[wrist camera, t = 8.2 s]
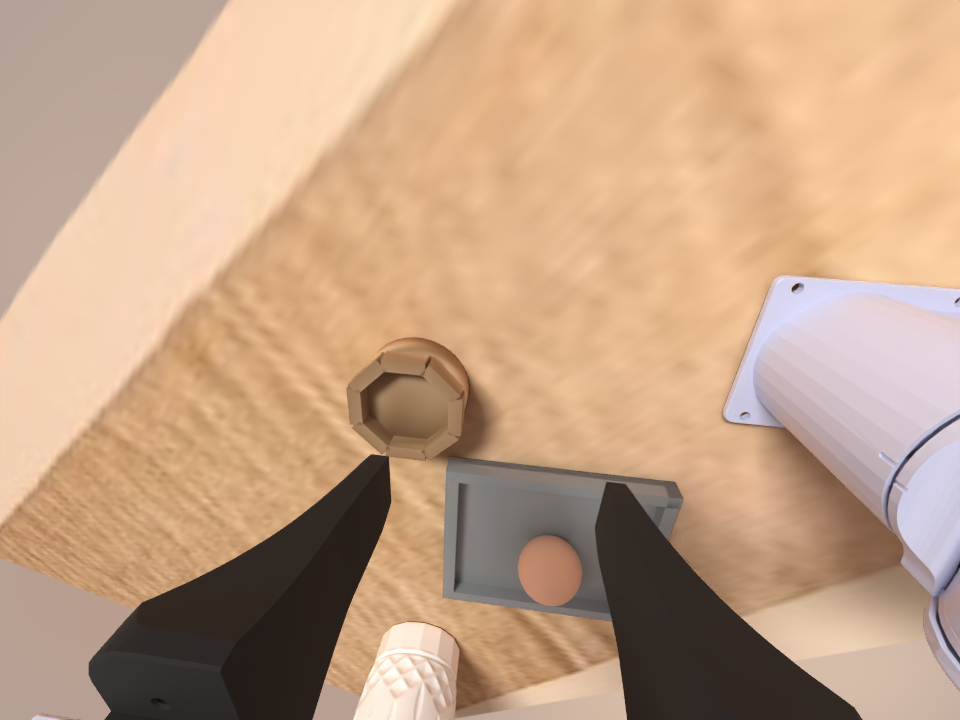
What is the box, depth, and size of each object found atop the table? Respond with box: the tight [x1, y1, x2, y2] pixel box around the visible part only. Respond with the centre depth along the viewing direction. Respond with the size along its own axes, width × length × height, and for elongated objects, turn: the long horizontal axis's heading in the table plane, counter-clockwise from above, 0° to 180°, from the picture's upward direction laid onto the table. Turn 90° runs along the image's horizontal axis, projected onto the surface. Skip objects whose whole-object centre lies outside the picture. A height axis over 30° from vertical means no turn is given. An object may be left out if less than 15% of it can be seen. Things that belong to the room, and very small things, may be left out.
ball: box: [518, 535, 582, 606], centre depth 25 cm, size 4×4×4 cm
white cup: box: [352, 622, 459, 720], centre depth 30 cm, size 8×8×10 cm
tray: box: [443, 456, 683, 621], centre depth 27 cm, size 14×12×1 cm
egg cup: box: [347, 338, 469, 461], centre depth 22 cm, size 6×6×3 cm
